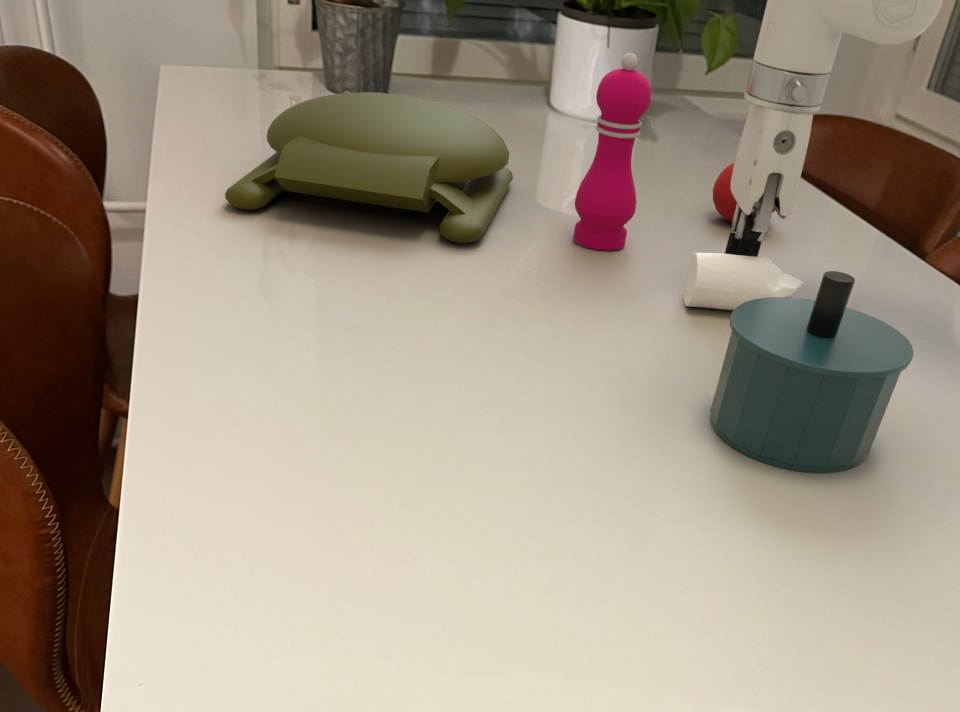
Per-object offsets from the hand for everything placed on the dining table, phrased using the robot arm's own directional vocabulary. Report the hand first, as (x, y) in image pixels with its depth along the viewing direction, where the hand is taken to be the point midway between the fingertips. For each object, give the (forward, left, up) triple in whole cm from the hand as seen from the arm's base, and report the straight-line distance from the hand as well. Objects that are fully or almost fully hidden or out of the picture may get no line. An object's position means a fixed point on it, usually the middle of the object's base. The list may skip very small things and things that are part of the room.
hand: (736, 273), depth 108 cm
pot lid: (+1, +32, +6) cm, 33 cm away
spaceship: (+41, -25, -3) cm, 48 cm away
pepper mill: (+14, -13, -3) cm, 19 cm away
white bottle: (0, +5, -3) cm, 5 cm away
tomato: (-6, -27, -3) cm, 28 cm away
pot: (+1, +32, -2) cm, 32 cm away
